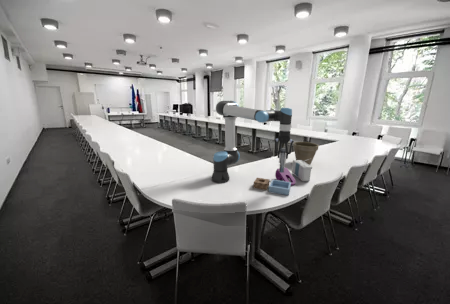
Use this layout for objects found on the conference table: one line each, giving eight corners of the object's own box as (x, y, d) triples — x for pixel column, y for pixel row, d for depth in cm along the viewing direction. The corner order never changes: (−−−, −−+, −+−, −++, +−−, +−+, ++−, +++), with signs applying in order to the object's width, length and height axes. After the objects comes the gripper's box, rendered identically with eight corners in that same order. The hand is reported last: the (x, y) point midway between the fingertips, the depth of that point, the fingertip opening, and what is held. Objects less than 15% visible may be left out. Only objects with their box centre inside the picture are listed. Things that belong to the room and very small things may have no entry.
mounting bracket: (294, 190, 162) (283, 174, 175) (298, 183, 157) (286, 167, 170) (284, 191, 159) (274, 175, 172) (287, 184, 154) (277, 168, 167)
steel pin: (277, 172, 144) (279, 148, 140) (278, 170, 148) (280, 147, 144) (284, 173, 142) (286, 149, 138) (285, 171, 146) (287, 148, 142)
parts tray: (268, 191, 145) (269, 186, 144) (272, 184, 157) (272, 179, 156) (288, 195, 140) (289, 189, 139) (290, 187, 152) (291, 182, 151)
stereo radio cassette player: (291, 173, 184) (293, 152, 179) (299, 173, 184) (301, 152, 180) (301, 182, 164) (304, 159, 159) (311, 181, 164) (314, 158, 159)
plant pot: (321, 166, 206) (324, 145, 200) (300, 167, 200) (302, 146, 195) (306, 159, 229) (308, 141, 224) (287, 160, 224) (289, 142, 219)
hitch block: (253, 188, 151) (253, 181, 150) (256, 183, 160) (257, 177, 159) (266, 190, 147) (266, 184, 146) (269, 185, 156) (269, 179, 155)
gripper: (272, 130, 137) (270, 162, 143) (296, 131, 131) (293, 165, 137) (273, 129, 144) (271, 160, 150) (297, 130, 138) (294, 162, 144)
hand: (282, 162), depth 143 cm, fingers closed on steel pin, 3 cm apart
